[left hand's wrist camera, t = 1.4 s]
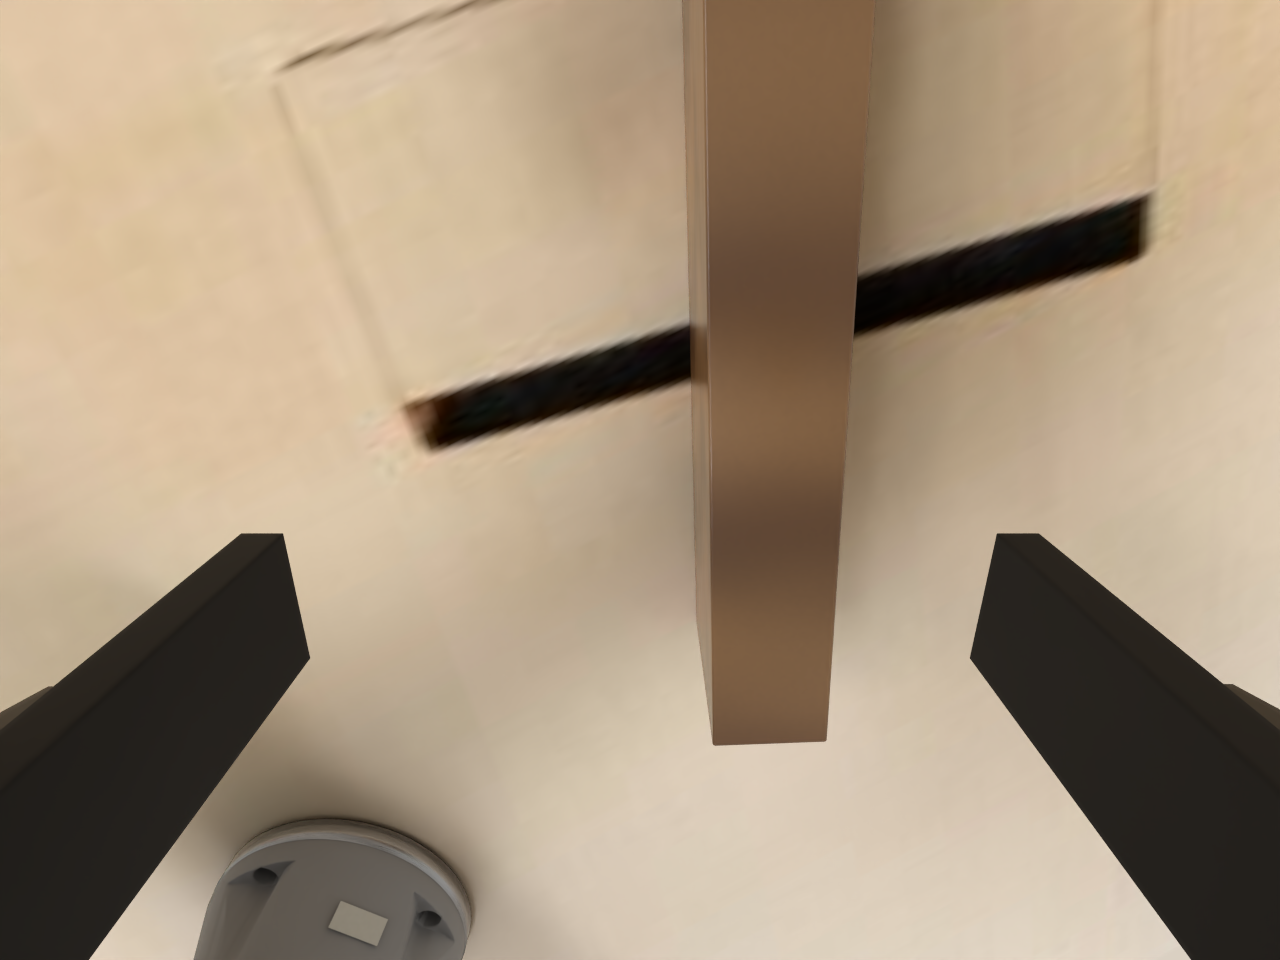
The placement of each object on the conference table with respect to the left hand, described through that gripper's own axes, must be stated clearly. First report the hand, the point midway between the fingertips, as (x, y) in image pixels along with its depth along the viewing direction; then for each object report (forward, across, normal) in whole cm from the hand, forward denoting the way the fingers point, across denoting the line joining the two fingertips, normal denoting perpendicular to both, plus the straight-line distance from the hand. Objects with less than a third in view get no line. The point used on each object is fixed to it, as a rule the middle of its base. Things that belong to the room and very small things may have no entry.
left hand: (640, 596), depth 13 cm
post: (+18, -4, -16) cm, 24 cm away
